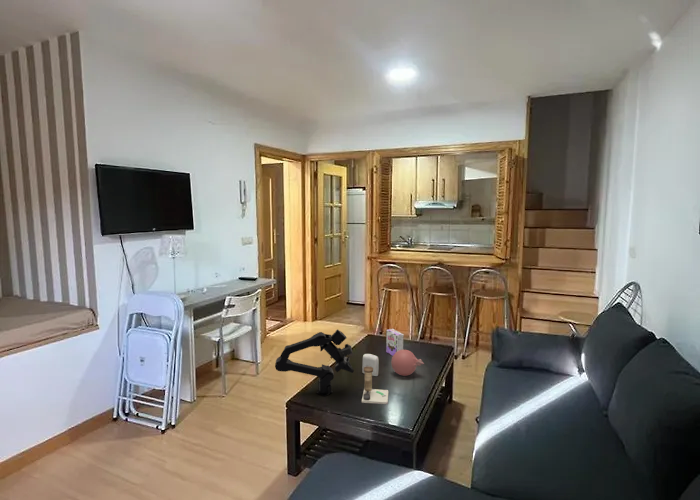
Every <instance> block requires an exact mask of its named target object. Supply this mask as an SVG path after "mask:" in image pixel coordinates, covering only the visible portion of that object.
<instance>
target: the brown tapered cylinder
mask: <svg viewBox="0 0 700 500" xmlns="http://www.w3.org/2000/svg"><path fill="white" fill-rule="evenodd" d="M364 372H365V374H364V386H363V387H364V388H363V391H364V390H365V391H367V393H366V394H364V395H363V394H362V397H363V399H365V400H369V399H370V394H368V393H369V391H372V389H373V376H372V372H373V367H370V366H366V367H364Z"/></svg>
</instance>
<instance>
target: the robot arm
mask: <svg viewBox="0 0 700 500" xmlns="http://www.w3.org/2000/svg"><path fill="white" fill-rule="evenodd" d="M346 339H347V336H346V335H345V334H344V333H343V332H342V331H341V330H339V329H336V330H335V332H333V333H332V334H328V333H324V332H322V331H318V332H317V333H315V334H313V335H312V336H311V337H309V338H307V339H304V340H300V341H297V342H294V343H292V344H289V345H288V344H287V345H285V347H284V349H283V350H282V352H281V354H280V356H279V357H277V358H276V360H275V365H274V367H275V369H276V371H277V372H283V373H284V372H297V373H301V374H304V375H310V376H315V377H318V382H317V383H318V386H317V387H318V390H317V391H316V393H317V394H318V395H321V396H324V397H326V396H328V395H330V394H332V393H333V390H332V384H331V381H332V380H333V379H334V377H335V376H334V371H336V372H337V373H339V372H340V371H341V370H343V371H346V372H349V373H354V372H355V369H354V367H353V366H352V363H351V362H350V356H348V355H352V353H353V351H354V350H353V349H352V346H351V345H350V344H348V343H346V344H344V347H342V348H341V347H338V346H340V345H341V344H342V343H343V342H344V341H345V340H346ZM310 347H313V348H315V347H319V349H320V350H319V351H320V352H322V351H323V350H324V351H325V352H326V353H327V354H328V355H329V357H330V359H331V360H332V359H333V360H334V361H335V366H334V370H333V368H332V367H331V366H330V365H325V364H321V366H313V365H308V364H305V363H304V364H303V363H299V362H294V361H293V360H291V359H289V358H290V356H291V354H294V353H297V352H300V351H302V350H305V349H308V348H310ZM347 356H348V357H347Z"/></svg>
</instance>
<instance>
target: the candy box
mask: <svg viewBox="0 0 700 500" xmlns="http://www.w3.org/2000/svg"><path fill="white" fill-rule="evenodd" d="M385 335H386V337H385V338H386V341H385V342H386V343H385V344H386V345H385V353H388V354H389V355H391V356H392V357H393V355H394V354H395V353H396V352H397V351H399V350H404V336H405V334H404V333H402V332H400V331H398V330H396V329H394V328H389V329H386V333H385Z"/></svg>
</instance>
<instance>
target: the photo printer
mask: <svg viewBox="0 0 700 500" xmlns="http://www.w3.org/2000/svg"><path fill="white" fill-rule="evenodd" d="M379 361H380V360H379V356H377V355H374V354H371V353H364V354H363V356H362V365H361V366H362V370H361V371H362V373H363V374H364V375H365V372H364V367H366V366H370V367H373V372H372V377H378V376H379ZM362 373H361V374H362Z"/></svg>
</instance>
